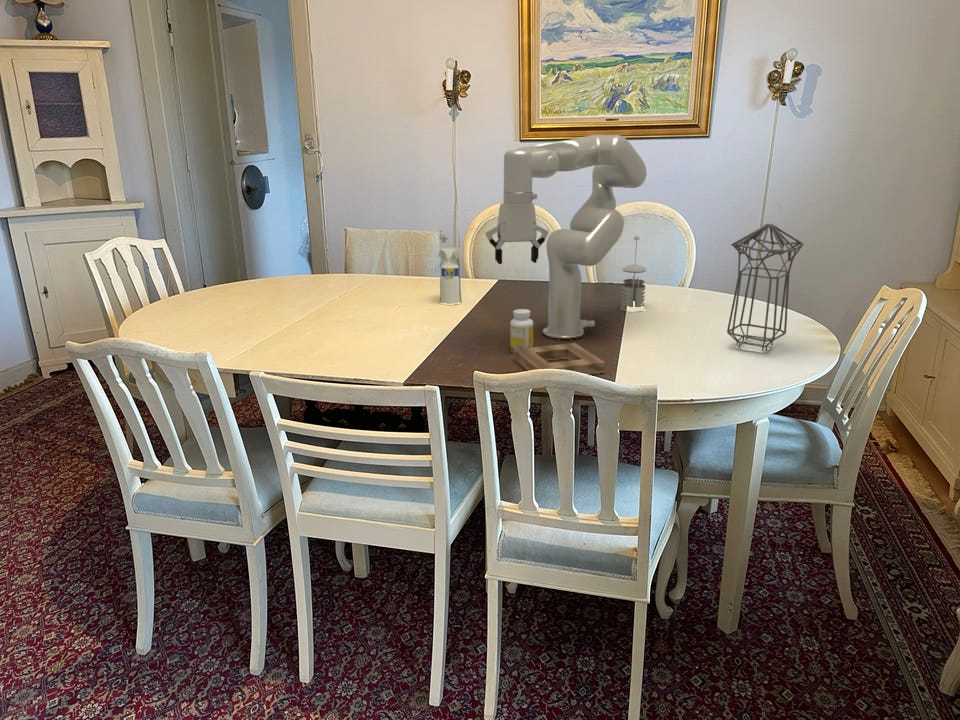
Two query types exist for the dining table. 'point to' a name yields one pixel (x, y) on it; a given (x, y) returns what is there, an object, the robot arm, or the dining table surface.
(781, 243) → the geometric lantern
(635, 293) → the french press
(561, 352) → the board with square hole
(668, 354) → the dining table surface
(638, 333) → the dining table surface
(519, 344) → the pill bottle
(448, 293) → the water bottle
